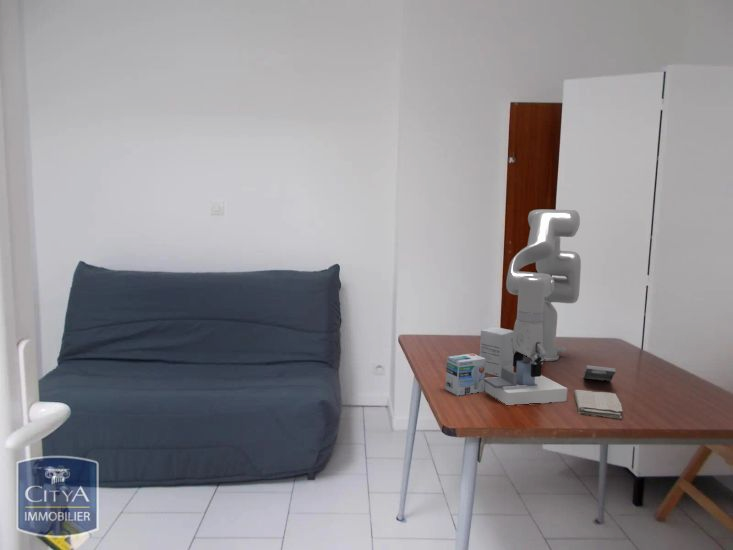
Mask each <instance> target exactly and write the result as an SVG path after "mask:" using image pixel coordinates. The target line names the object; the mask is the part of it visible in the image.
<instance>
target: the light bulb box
mask: <svg viewBox="0 0 733 550" xmlns="http://www.w3.org/2000/svg"><path fill="white" fill-rule="evenodd" d="M485 368H486V359H485V358H483V357H480V355H477V354H476V353H467V354H465V353H464V354H460V355H459V354H458V355H451V356H450V355H449V356H446V370H445V372H446V373H445V390H446V391H448V392H450V393H451V394H454V395H455V396H457V397H460V396H465V394H466V395H471V393H473V394H478V393H477V392H479V393H484V392H485V391H484V383H485V381H484V378H486V373H485ZM459 395H460V396H459Z"/></svg>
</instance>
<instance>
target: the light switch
mask: <svg viewBox="0 0 733 550" xmlns="http://www.w3.org/2000/svg"><path fill="white" fill-rule="evenodd" d="M616 370H617V369H616V368H614V367H605V366H595V365H586V367H585V370H584V372H583V377H582V378H583V379H589V380H596V379H597V381H604V380H606V382H611V381H612V380H613V377H615V376H614V375H615V374H616V372H617V371H616Z"/></svg>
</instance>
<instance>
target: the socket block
mask: <svg viewBox="0 0 733 550" xmlns="http://www.w3.org/2000/svg"><path fill="white" fill-rule="evenodd" d="M498 377H499V376H495V377H494V376H493V377H490V378H498ZM484 392H485V393H487V394H488V395H490V396H491V397H492V398H494V397H495V398H494V399H496V398H497V399H498V400H497V399H496V400H497V401H499V400H500V401H501V402H503V403H505V404H506V405H514V404H529V403H541V404H548V403H549V402H552V403H562V402H567V400H568V399H567V397H568V387H565V386H563V385H562V384H560V383H558V382H556V381H554V380H552V379H550V378H549V377H546V376H544V375H542V374H541V376H540V377H535V384H534V386H527V385H518V384H517V386H505V387H502V388H494V387H492V386H491V385H489V384H488V383H486V382H485V383H484ZM500 401H499V402H500ZM501 402H500V403H501ZM503 403H502V404H503ZM549 404H550V403H549ZM506 405H505V406H506ZM529 405H530V404H529Z"/></svg>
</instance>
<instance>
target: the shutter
mask: <svg viewBox="0 0 733 550" xmlns="http://www.w3.org/2000/svg"><path fill="white" fill-rule="evenodd" d="M497 377H498V378H491V377H485V378H484V381H485V382H486V383H488V384H489V385H491V386H492V387H494V388H502V387H505V386H517V373H516V371H511V370H510V369H508V368H506V367H502V368H501V377H499V376H497Z"/></svg>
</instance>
